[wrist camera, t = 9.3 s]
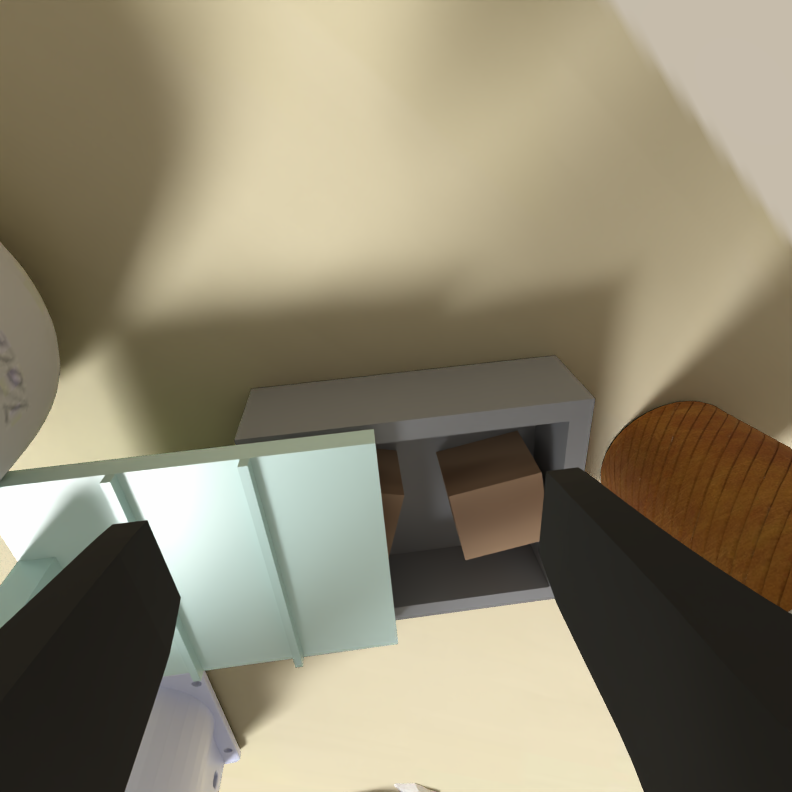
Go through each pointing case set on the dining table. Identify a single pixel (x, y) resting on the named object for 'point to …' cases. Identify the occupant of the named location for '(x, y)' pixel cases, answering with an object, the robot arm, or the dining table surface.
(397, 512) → the walnut block
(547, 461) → the tub
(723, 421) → the disposable coffee cup
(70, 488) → the lid
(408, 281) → the dining table surface
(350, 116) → the dining table surface
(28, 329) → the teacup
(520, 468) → the walnut block
